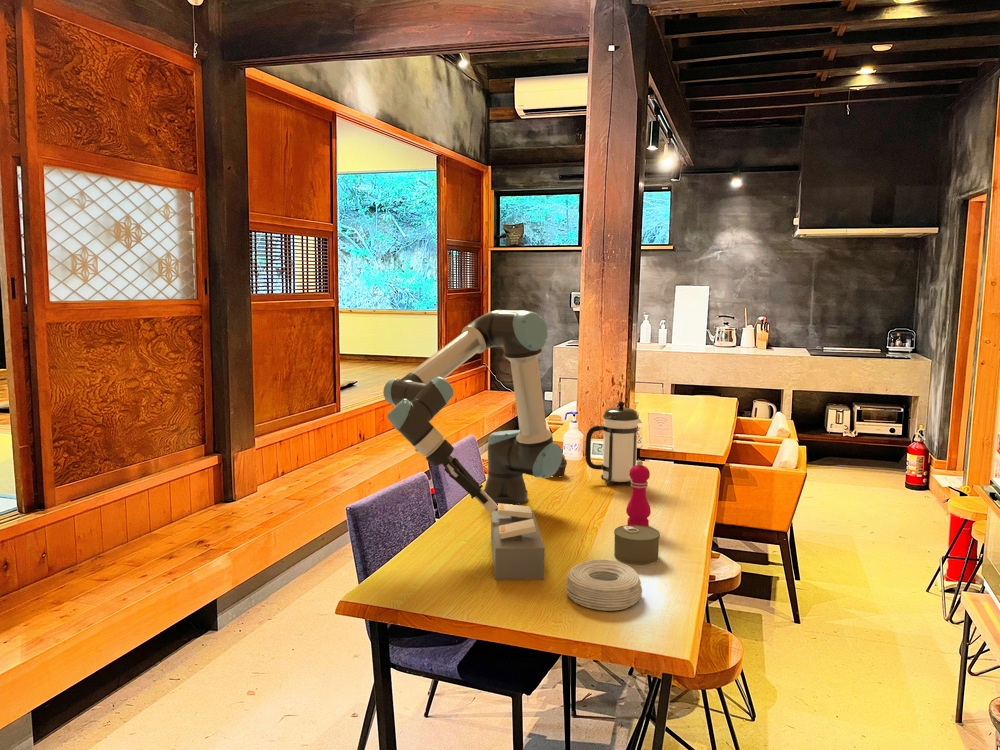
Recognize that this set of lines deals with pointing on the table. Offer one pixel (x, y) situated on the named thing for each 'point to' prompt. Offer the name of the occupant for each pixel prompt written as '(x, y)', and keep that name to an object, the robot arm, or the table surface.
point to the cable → (604, 585)
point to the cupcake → (561, 467)
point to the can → (636, 544)
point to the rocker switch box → (516, 551)
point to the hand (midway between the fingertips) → (494, 509)
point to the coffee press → (616, 444)
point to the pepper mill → (638, 496)
